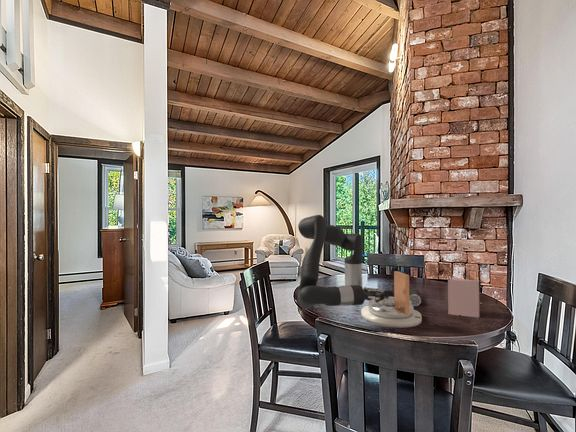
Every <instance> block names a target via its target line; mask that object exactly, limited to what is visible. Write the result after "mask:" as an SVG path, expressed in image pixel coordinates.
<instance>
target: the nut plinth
mask: <svg viewBox="0 0 576 432" xmlns="http://www.w3.org/2000/svg"><path fill="white" fill-rule="evenodd" d="M360 310H361V311H360V312H361V313H360V315H361V318H362V319H363V320H365V321H366V322H368V323H371V324H374V325H377V326H381V327H387V328H393V329H394V328H395V329H396V328H399V329H400V328H401V329H402V328H412V327H417V326H418V325H420V324H422V322H423V321H422V314H421V313H420V312H419V311H418V310H416V309H414V315H413V316H412V317H410V318H405V319H389V318H383V317H379V316H376V315H373V314H371V313H370V312H369V310H368V305H365V306H363V307H362V308H361V309H360Z"/></svg>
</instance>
